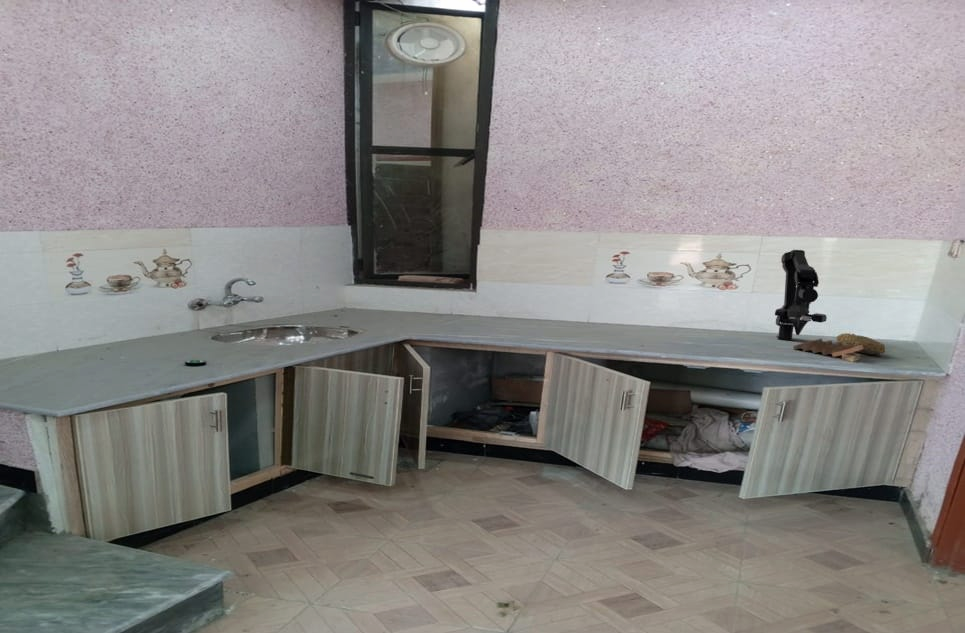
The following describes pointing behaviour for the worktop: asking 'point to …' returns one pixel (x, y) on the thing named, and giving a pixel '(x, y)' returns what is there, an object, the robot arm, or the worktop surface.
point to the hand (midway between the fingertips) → (797, 335)
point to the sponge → (862, 343)
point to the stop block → (851, 357)
